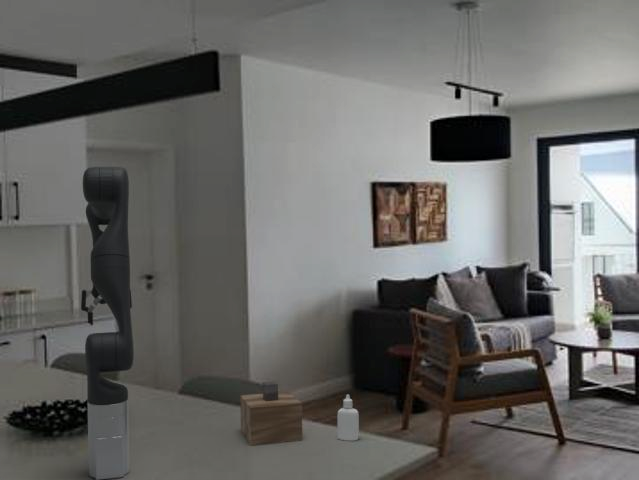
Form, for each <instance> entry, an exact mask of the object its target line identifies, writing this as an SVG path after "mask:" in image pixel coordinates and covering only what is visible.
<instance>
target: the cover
mask: <svg viewBox="0 0 639 480" xmlns="http://www.w3.org/2000/svg"><path fill="white" fill-rule="evenodd" d="M239 397H240V431H241V433H242V434H243V436H244V438H246V440H247V442H248V443H249V445H250V446H258V445H260V446H261V445H268V444H269V443H270V444H277V443H278V442H280V443H286V442H285V441H290V442H295V441H294V440H299V441H303V403H302V402H301V401H300V400H299V399H298V398H297V397H295V395H293V394H292V392H290V391H288V390H287V391H279V383H278V382H276V381H275V380H272V381H270V380H269V381H262V393H253V394H252V393H251V394H240V396H239ZM278 444H279V443H278Z"/></svg>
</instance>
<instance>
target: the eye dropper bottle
mask: <svg viewBox="0 0 639 480" xmlns="http://www.w3.org/2000/svg"><path fill="white" fill-rule="evenodd" d="M342 400H343V401H342V402H343V404H342V405H343V406H342V408H340V409H338V411H337V419H336V420H337V424H336V425H337V439H338V440H341V441H346V442H347V441H349V442H352V441H358V439H359V438H360V422H359V420H360V419H359V411H358V410H357V409H356V408H353V399H351V397H350V394H346V395H345V398H344V399H342Z"/></svg>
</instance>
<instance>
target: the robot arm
mask: <svg viewBox="0 0 639 480" xmlns="http://www.w3.org/2000/svg"><path fill="white" fill-rule="evenodd" d="M129 191H130V182H129V174H128V171H127V170H126V168H124V167H121V166H120V167H119V166H93V167H88V168H86V169H85V170H84V172H83V176H82V193H83V197H84V199H85V201H86V203H87V204H86V207H85V217H86V219H87V223H88V226H89V228H90V231H91V237H92V249H91V252H90V280H91V282H92V289H89V290H88V289H82V290H81V301H80V303H81V304H80V309H81V311H83V312H86V313H87V322H88V323H87V324H90V326H94V312H93V311H94V309H95V308H96V307H97V306H98V304H100V305H106V304H107V306H108V307H109V309H110V312H111V313H112V315H113V317H114V318H115V322H116V324H117V328H118V331H111V332H108V331H107V332H95V333H94V332H93V333H90V334H88V335H87V336H86V340H85V346H84V350H85V351H84V356H85V365H86V366H85V367H86V379H87V381H86V383H87V436H88V437H87V445H88V447H87V448H88V475H89V477H91V478H94V479H95V480H108V479H118V478H123V477H124V476H125V475H126V474H128V473H129V472H130V437H129V436H130V434H129V433H130V432H129V430H130V429H129V425H130V424H129V390H128V387H127V386H125V385H124V384H121V383H118V382H114V381H111V380H108V379H106V378H105V377H103V376H102V373H113V372H124V371H129V370H130V369H132V367H133V364H134V354H135V353H134V338H133V327H132V316H131V315H132V313H131V309H132V308H133V307H132V306H133V303H132V292H131V291H132V290H131V262H130V261H131V260H130V245H129V243H130V242H129V193H130V192H129ZM100 226H106V227H105V228H104V230H101V228H100ZM90 295H91V296H92V297H93V298H94V299H93V301H92V303H91V304H90V305H89V306H87V298H89V297H90Z"/></svg>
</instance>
